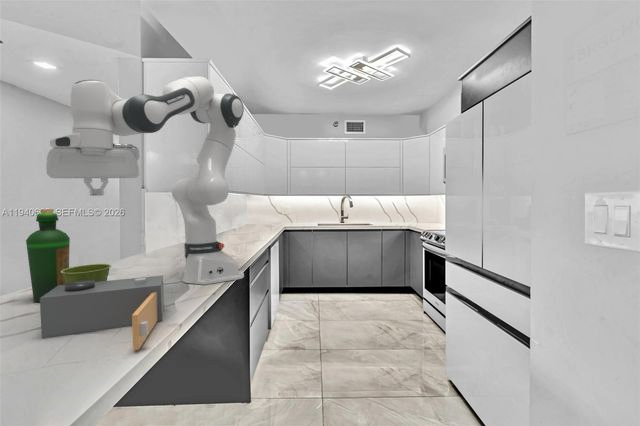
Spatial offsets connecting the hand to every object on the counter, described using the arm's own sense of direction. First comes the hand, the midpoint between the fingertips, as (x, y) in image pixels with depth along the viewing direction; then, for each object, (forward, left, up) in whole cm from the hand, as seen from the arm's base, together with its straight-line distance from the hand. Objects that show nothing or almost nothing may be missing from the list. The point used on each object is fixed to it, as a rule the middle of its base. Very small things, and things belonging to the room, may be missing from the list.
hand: (97, 195), depth 88 cm
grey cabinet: (-3, +8, -32) cm, 33 cm away
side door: (-13, +22, -31) cm, 41 cm away
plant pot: (+5, -8, -32) cm, 33 cm away
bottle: (+18, -23, -32) cm, 43 cm away
